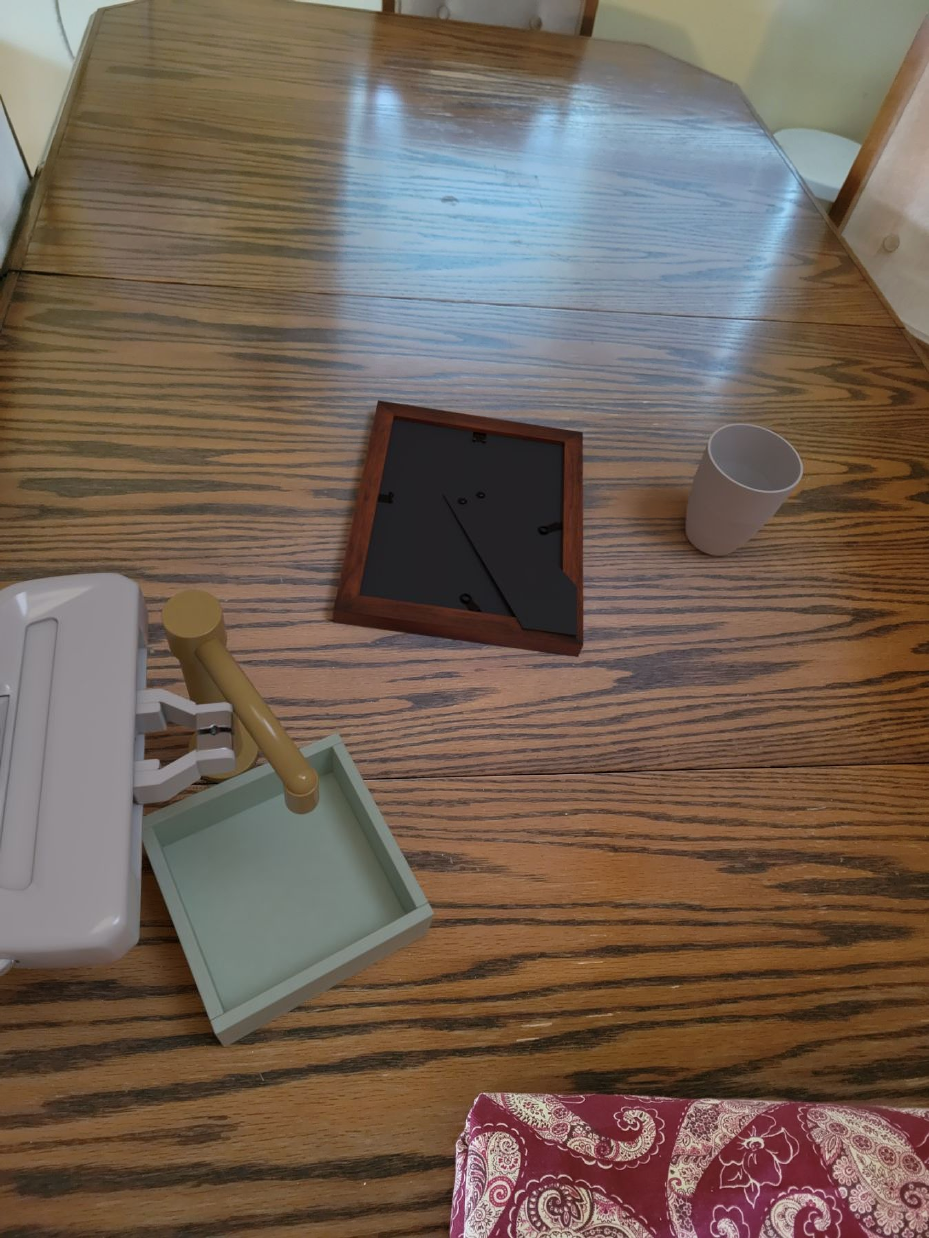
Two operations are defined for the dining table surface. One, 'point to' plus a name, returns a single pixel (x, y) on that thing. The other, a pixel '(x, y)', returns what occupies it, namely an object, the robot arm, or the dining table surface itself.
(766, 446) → the cup
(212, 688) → the faucet base
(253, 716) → the spout
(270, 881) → the sink
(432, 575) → the picture frame
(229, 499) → the dining table surface
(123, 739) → the robot arm
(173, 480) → the dining table surface
